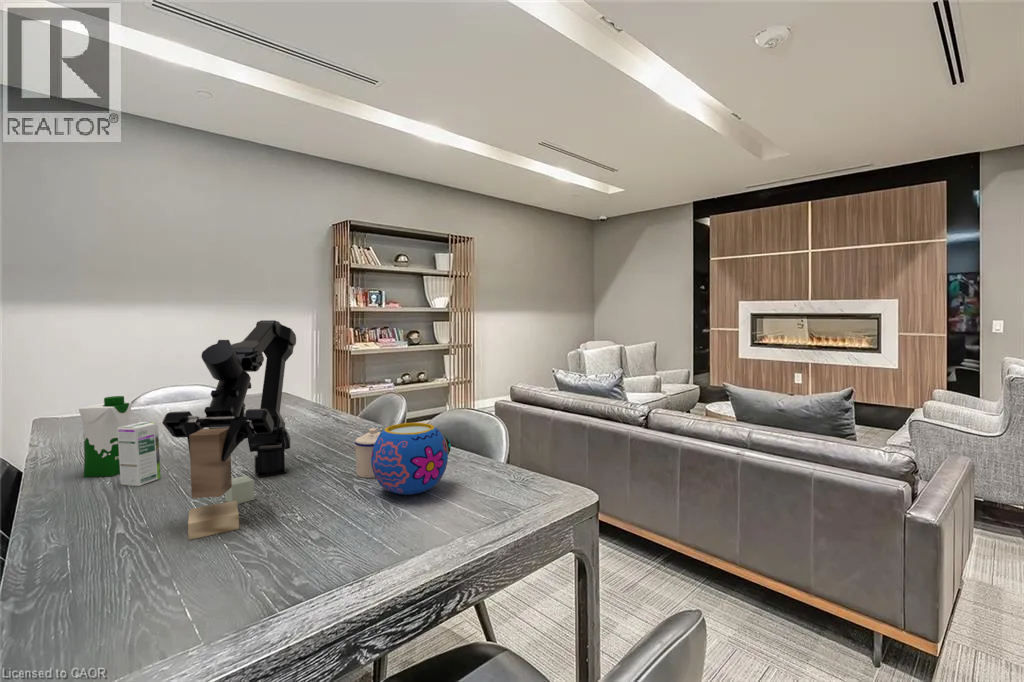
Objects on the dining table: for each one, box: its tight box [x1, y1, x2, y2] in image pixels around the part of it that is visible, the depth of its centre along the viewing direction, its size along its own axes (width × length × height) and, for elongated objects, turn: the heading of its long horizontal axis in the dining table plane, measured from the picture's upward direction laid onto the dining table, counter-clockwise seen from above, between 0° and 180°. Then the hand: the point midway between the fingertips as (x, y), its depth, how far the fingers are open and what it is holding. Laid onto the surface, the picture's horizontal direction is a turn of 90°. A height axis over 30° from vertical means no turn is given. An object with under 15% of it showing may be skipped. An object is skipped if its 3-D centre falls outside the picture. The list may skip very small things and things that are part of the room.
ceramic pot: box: [371, 422, 452, 496], centre depth 109 cm, size 18×18×15 cm
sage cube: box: [224, 475, 256, 505], centre depth 105 cm, size 4×4×4 cm
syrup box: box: [117, 421, 162, 487], centre depth 116 cm, size 6×6×14 cm
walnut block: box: [189, 428, 233, 499], centre depth 90 cm, size 5×5×12 cm
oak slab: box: [187, 500, 240, 541], centre depth 91 cm, size 8×8×3 cm
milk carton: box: [78, 395, 133, 478], centre depth 123 cm, size 9×9×20 cm
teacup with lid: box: [354, 427, 381, 479], centre depth 123 cm, size 12×9×12 cm
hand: (207, 461), depth 89 cm, fingers closed on walnut block, 5 cm apart
